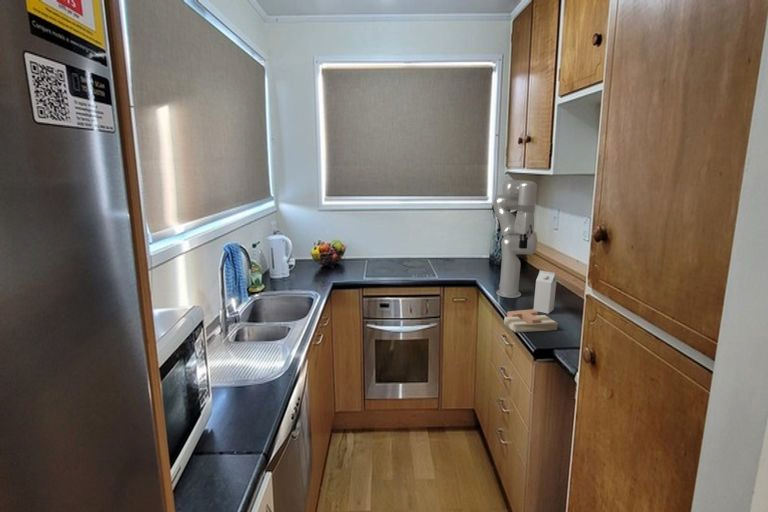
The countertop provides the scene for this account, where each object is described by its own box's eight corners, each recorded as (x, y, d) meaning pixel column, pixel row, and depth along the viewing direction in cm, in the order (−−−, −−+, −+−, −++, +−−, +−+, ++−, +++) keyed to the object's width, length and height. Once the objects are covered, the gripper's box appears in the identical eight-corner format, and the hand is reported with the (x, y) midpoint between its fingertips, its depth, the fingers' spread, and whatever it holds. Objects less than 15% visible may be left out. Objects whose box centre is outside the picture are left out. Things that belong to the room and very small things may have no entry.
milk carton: (538, 307, 211) (542, 269, 207) (553, 310, 207) (557, 271, 203) (533, 310, 206) (536, 271, 202) (548, 314, 201) (552, 274, 197)
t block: (506, 320, 193) (507, 311, 192) (532, 317, 197) (533, 309, 196) (522, 330, 182) (523, 321, 181) (549, 327, 185) (549, 318, 184)
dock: (504, 323, 189) (504, 317, 188) (544, 321, 192) (544, 314, 191) (514, 332, 179) (515, 325, 178) (557, 329, 182) (557, 323, 182)
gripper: (511, 207, 207) (508, 245, 211) (526, 211, 192) (523, 251, 196) (525, 207, 208) (522, 245, 212) (542, 210, 194) (538, 251, 198)
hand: (522, 248), depth 204 cm, fingers closed
